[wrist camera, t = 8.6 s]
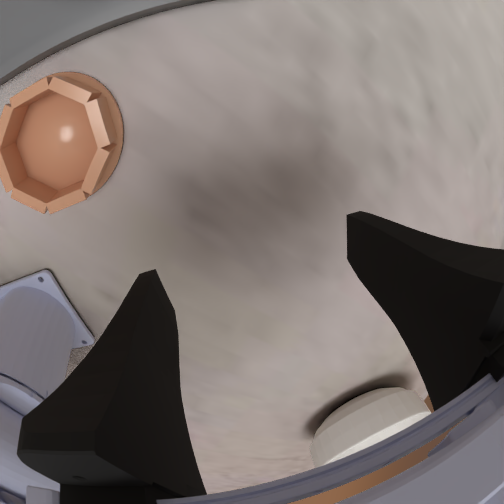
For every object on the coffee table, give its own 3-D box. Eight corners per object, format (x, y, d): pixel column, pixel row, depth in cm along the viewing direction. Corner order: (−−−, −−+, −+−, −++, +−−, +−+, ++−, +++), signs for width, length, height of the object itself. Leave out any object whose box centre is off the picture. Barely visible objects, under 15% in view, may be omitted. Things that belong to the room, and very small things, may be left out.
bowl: (278, 424, 39) (294, 473, 32) (396, 352, 36) (427, 399, 29) (326, 442, 49) (341, 476, 42) (413, 389, 46) (434, 422, 39)
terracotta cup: (34, 218, 16) (20, 236, 14) (-6, 109, 12) (-26, 115, 10) (140, 177, 17) (135, 190, 15) (104, 50, 13) (93, 45, 10)
